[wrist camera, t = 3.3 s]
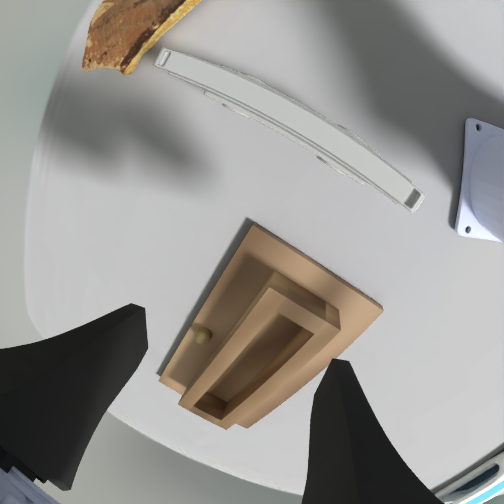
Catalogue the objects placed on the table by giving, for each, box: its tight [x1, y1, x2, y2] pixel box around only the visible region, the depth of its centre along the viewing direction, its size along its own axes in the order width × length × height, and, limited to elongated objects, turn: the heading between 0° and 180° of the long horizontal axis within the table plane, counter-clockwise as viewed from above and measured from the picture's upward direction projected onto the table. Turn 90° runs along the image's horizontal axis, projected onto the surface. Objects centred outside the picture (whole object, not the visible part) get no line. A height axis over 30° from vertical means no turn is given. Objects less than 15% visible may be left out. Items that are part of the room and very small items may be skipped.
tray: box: [159, 222, 384, 430], centre depth 21 cm, size 11×20×3 cm, turn 150°
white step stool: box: [434, 451, 504, 504], centre depth 25 cm, size 21×28×6 cm
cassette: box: [153, 48, 425, 214], centre depth 12 cm, size 12×2×8 cm, turn 61°
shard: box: [82, 0, 202, 74], centre depth 13 cm, size 11×8×2 cm
